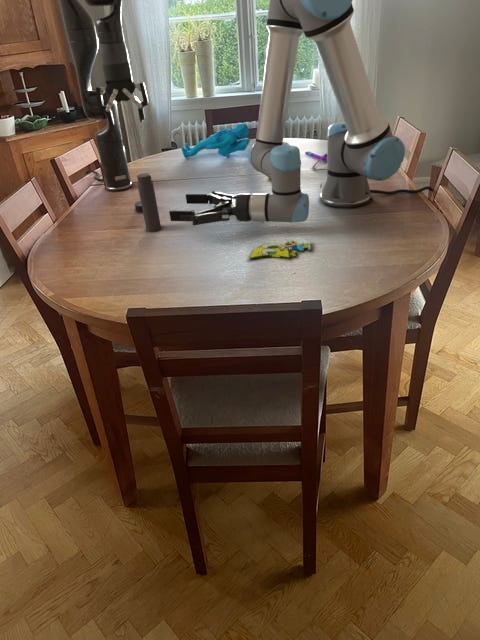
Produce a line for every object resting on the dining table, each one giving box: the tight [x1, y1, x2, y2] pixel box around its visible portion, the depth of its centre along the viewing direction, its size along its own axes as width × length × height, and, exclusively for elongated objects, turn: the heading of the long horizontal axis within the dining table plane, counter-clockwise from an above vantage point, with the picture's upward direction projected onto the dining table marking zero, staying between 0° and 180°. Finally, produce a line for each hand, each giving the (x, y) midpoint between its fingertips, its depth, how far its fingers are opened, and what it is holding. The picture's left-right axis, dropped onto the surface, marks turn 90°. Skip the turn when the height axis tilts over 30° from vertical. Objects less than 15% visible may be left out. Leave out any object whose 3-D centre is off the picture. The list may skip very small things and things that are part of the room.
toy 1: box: [180, 123, 251, 159], centre depth 204 cm, size 17×11×30 cm
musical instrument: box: [304, 151, 327, 171], centre depth 185 cm, size 24×2×20 cm
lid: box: [134, 200, 143, 214], centre depth 156 cm, size 5×5×2 cm
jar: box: [136, 172, 162, 233], centre depth 137 cm, size 4×4×16 cm
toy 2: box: [249, 240, 312, 260], centre depth 122 cm, size 10×1×15 cm
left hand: (127, 123), depth 142 cm, fingers open, 8 cm apart
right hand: (178, 207), depth 136 cm, fingers open, 13 cm apart
